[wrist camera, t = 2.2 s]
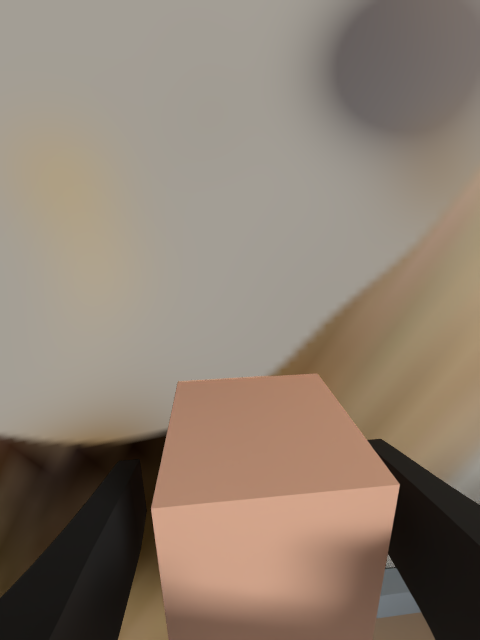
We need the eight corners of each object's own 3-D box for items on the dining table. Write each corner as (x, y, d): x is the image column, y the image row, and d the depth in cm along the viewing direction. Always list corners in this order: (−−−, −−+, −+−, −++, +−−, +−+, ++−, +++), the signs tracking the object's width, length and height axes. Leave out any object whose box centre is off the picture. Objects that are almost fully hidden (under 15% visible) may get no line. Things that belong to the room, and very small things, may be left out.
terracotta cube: (316, 372, 11) (400, 484, 6) (309, 481, 12) (372, 640, 8) (178, 381, 10) (150, 508, 6) (187, 493, 12) (172, 669, 7)
